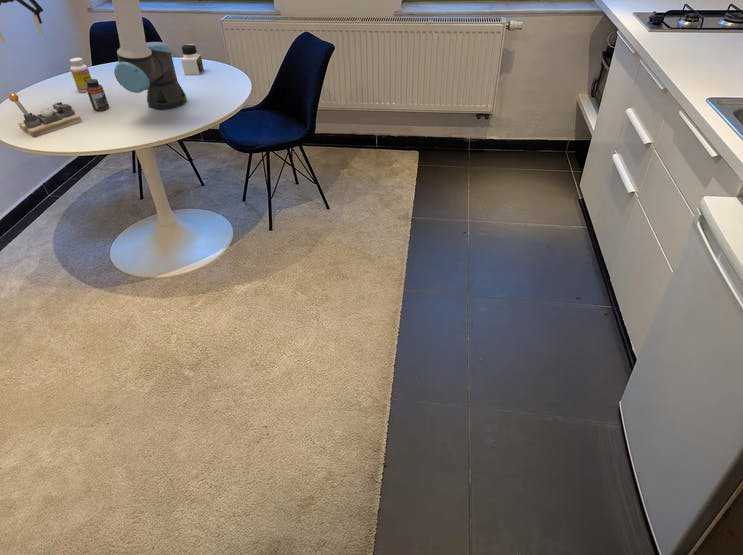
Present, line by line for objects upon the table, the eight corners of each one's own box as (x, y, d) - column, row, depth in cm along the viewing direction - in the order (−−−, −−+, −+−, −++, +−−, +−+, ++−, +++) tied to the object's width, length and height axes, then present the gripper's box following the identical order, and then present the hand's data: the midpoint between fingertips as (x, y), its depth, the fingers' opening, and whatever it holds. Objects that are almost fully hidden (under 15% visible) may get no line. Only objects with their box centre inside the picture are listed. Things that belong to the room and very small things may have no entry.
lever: (36, 117, 198) (16, 92, 190) (28, 122, 197) (8, 96, 189) (32, 115, 199) (12, 90, 191) (25, 120, 198) (4, 95, 190)
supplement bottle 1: (88, 93, 230) (77, 62, 222) (75, 92, 232) (63, 61, 224) (98, 87, 236) (87, 57, 227) (84, 86, 237) (73, 56, 229)
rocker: (72, 109, 206) (71, 105, 205) (58, 111, 202) (57, 107, 202) (67, 107, 208) (66, 103, 207) (53, 108, 204) (52, 104, 204)
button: (56, 116, 202) (53, 110, 201) (45, 119, 200) (42, 113, 199) (51, 113, 205) (48, 107, 203) (40, 117, 202) (38, 110, 201)
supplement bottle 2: (93, 107, 217) (83, 79, 210) (109, 105, 219) (100, 76, 212) (93, 112, 213) (83, 84, 206) (109, 110, 215) (100, 81, 208)
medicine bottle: (200, 75, 245) (194, 47, 238) (184, 75, 246) (177, 47, 238) (204, 69, 251) (198, 42, 243) (188, 70, 251) (182, 43, 244)
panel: (82, 121, 207) (76, 106, 203) (34, 137, 196) (27, 121, 192) (67, 113, 213) (61, 98, 209) (20, 129, 202) (13, 113, 198)
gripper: (29, -35, 195) (52, 28, 208) (-48, -24, 181) (-18, 43, 194) (37, -32, 191) (60, 32, 204) (-41, -21, 177) (-11, 47, 190)
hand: (22, 37), depth 199 cm, fingers open, 13 cm apart
